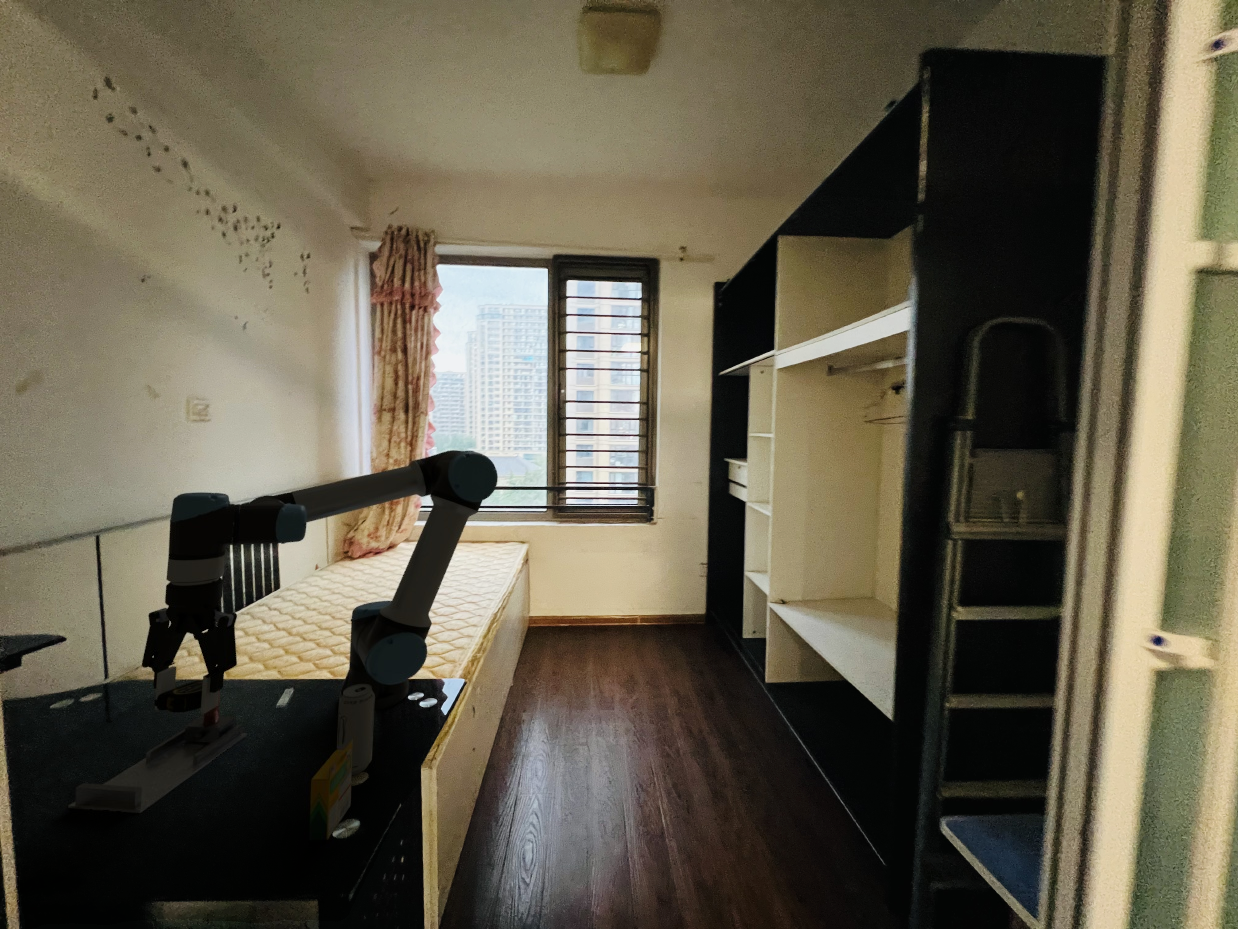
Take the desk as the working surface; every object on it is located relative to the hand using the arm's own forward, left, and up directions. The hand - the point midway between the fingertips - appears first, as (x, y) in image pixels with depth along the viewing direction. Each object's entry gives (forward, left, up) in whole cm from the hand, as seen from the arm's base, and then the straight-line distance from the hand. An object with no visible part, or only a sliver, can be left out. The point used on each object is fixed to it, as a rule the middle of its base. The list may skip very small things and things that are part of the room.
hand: (187, 707), depth 81 cm
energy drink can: (-27, -7, -14) cm, 31 cm away
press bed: (+6, -4, -14) cm, 16 cm away
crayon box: (-31, +6, -14) cm, 34 cm away
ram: (+6, -11, -13) cm, 18 cm away
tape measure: (0, 0, 0) cm, 1 cm away
